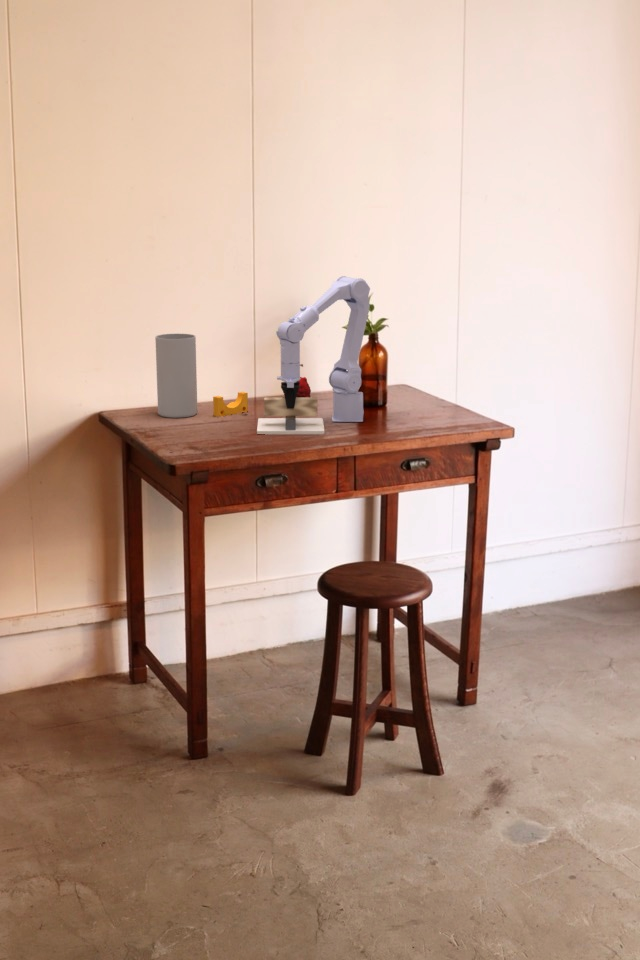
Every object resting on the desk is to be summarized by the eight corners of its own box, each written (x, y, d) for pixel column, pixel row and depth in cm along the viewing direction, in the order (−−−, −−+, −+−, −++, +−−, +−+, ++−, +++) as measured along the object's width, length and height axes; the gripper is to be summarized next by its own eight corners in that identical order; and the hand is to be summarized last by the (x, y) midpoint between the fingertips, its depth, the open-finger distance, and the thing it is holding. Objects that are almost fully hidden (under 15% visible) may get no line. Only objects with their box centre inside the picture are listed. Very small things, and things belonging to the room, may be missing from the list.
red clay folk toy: (313, 401, 390) (313, 357, 386) (305, 405, 383) (305, 360, 380) (293, 400, 393) (293, 356, 389) (284, 403, 386) (284, 359, 382)
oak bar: (317, 413, 352) (317, 397, 351) (317, 415, 349) (317, 399, 347) (264, 413, 352) (264, 397, 350) (264, 416, 348) (264, 399, 347)
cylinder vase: (197, 409, 376) (195, 333, 370) (197, 418, 364) (195, 339, 358) (158, 410, 375) (155, 333, 368) (157, 418, 363) (155, 339, 356)
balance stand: (322, 421, 360) (322, 408, 359) (324, 434, 343) (324, 421, 342) (258, 421, 360) (258, 408, 359) (256, 434, 342) (256, 421, 341)
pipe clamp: (239, 410, 377) (239, 390, 375) (247, 412, 374) (247, 392, 372) (210, 415, 369) (209, 395, 367) (218, 417, 366) (218, 397, 364)
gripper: (277, 358, 353) (277, 402, 356) (276, 366, 339) (277, 411, 342) (300, 358, 353) (300, 402, 357) (300, 366, 339) (300, 411, 343)
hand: (290, 406), depth 350 cm, fingers closed on oak bar, 3 cm apart
